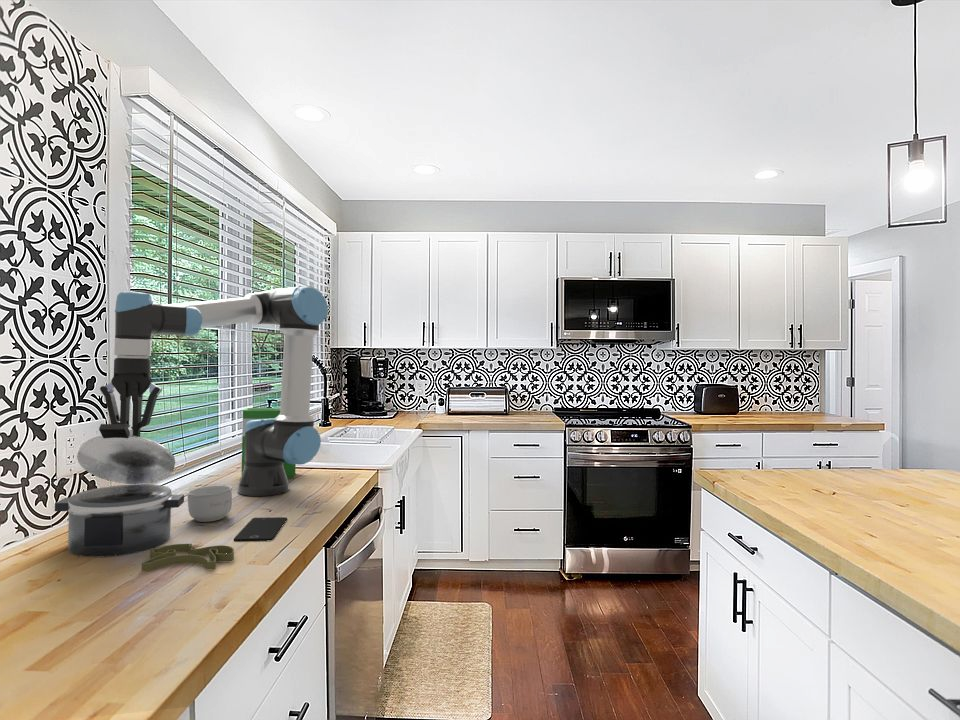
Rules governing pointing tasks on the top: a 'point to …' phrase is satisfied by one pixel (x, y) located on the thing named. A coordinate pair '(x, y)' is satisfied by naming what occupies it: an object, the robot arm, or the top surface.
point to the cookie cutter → (187, 556)
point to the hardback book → (259, 415)
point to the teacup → (210, 502)
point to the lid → (125, 457)
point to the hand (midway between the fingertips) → (129, 456)
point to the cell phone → (261, 529)
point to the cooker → (119, 519)
